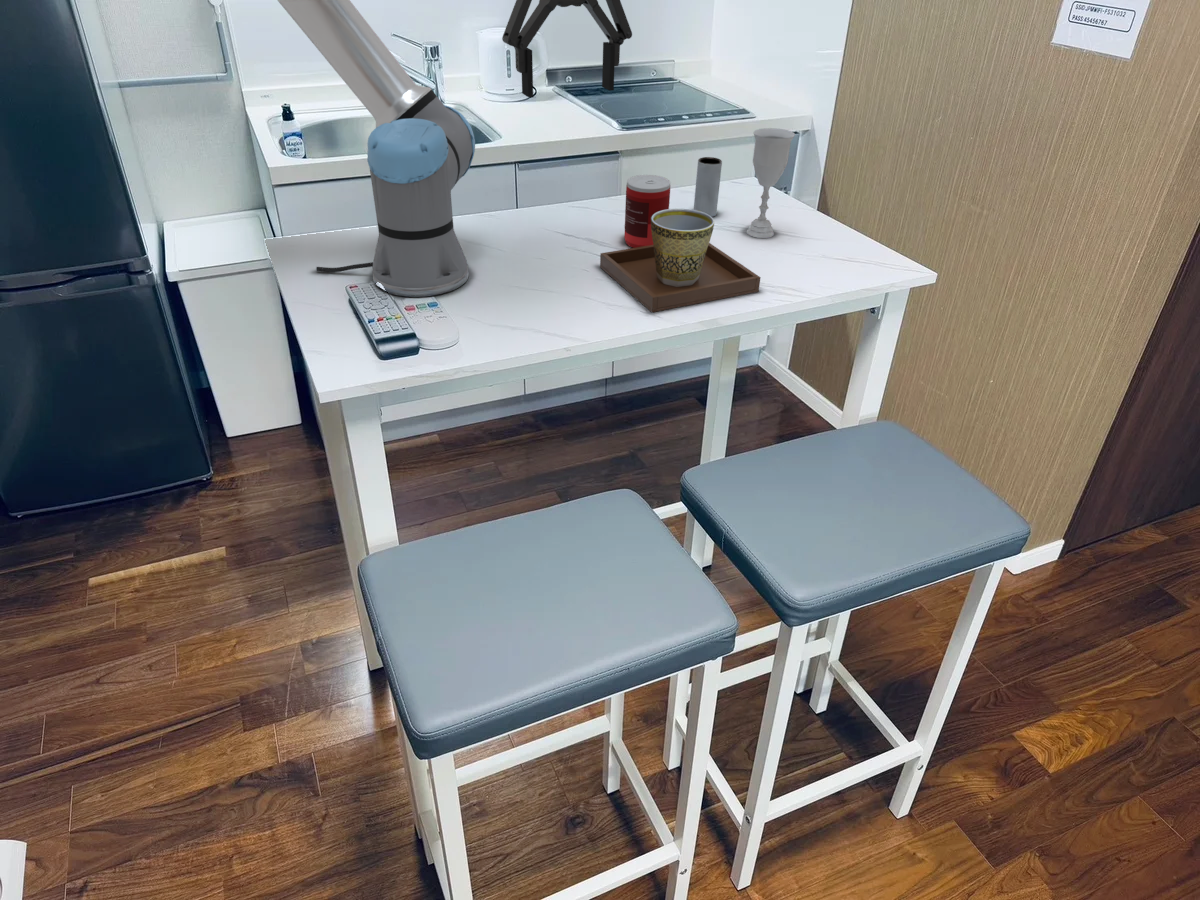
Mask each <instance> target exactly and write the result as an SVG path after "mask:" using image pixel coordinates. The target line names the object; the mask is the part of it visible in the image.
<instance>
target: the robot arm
mask: <svg viewBox="0 0 1200 900" xmlns="http://www.w3.org/2000/svg"><path fill="white" fill-rule="evenodd" d="M532 1H533V0H515V2H514V6H513V8H512V10H511V13H510V16H509V19H508V22H507V24H506V26H505V29H504V32H503V34H502V37H501V40H502V42H503V43H505V44H506V45H508V46H510V47H513V48H514V51H515V52H514V55H515V70H516V72H518V73H519V74H521V94H522V95H524V96H526V98H534V77H533V76H534V71H533V69H534V68H533V67H534V66H533V65H534V64H533V50H532V48H531V49H530V48H529V46H530V45H531V43H532V41H533V39H534V38H535V36H536V35H537V33H538V32H539V31H540V30H541V27H542V26H543V24H544V23H545V22H546V20H547V19H548V17H549V16H550V14H551V13H552V12H553V11H554V10H555V9H556V8H557V6H558V7H559V8H567V7H570V6H574V7H582V5H583V6H584V7H585V9H586V10H587V11H588V13H589V14H590V15H591V17H592V18H593V20H594V21H595V23H596V24H597V26H598V27H599V28H600V30H601V32H602V33H603V34H604V36H605V37H606V39H607V40H608V41H603V42H602V70H601V71H602V72H601V73H602V74H601V75H602V76H601V87H602V88H604V89H606V90H607V91H608V92H609V91H610V92H611V91H615V67H618V66H619V64H620V59H621V58H620V57H621V56H620V55H621V54H620V52H621V46H622V45H623V44H624V41H625V40H629V39H631V38H632V37H633V32H632V28H631V26H630V23H629V21H628V18H627V15H626V13H625V10H624V7H623V4H622V2H621V0H605V1H606V5H607V7H608V10H609V13H610V15H611V18H612V20H613V23H614V25H613V23H612V21H611V20H610V19H609V17H608V15H607V14H606V12H604V9H603V8H602V7H601V6H600V4H599V1H598V0H538V4H537V5H536V7H535V8H534V10H533V12H532V13H531V15H530V16H529V17H528V19H527V21H526V22H525V24H524V21H525V19H526V17H527V15H528V12H529V9H530V7H531V4H532ZM277 2H278V3H279V4H280V5H281V6H282V8H283V9H284V10H285V11H286V13H287V14H288V15H289V16H290V17H291V19H292V20H293V21H294V22H295V24H296V25H297V27H299V28H300V29H301V31H302V32H303V33H304V34H305V36H306V37H307V38H308V40H309V41H310V42H311V43H312V44H313V46H314V47H315V49H317V50H318V52H319V53H320V54H321V55H322V57H323V58H324V59H325V60H326V61H327V63H328V64H329V65H330V66H331V67H332V68H333V70H334V71H335V72H336V73H337V74H338V76H339V78H340V79H342V81H343V83H345V84H346V86H347V87H348V88H349V89H350V90H351V92H352V93H353V94H354V95H355V96H356V98H357V99H358V101H360V103H361V104H362V105H363V106H364V108H365V109H366V110H367V111H368V112H369V113H370V115H371V116H372V117H373V119H374V121H375V127H374V129H373V130H372V131H371V132H370V133H369V136H368V138H367V143H366V144H367V153H366V155H367V164H368V167H369V168H368V169H369V172H370V180H371V187H372V195H373V202H374V209H375V216H376V224H377V230H378V236H377V242H376V247H375V250H374V251H375V252H374V257H373V261H371V262H364V263H363V262H362V263H356V264H350V265H349V264H348V265H345V266H338V267H325V266H316V267H315V270H316V272H323V273H339V272H345V271H351V270H356V269H364V268H372V270H371V273H372V280H373V284H374V283H377V282H379V283H381V284H382V285H383V286H384V288H385V290H386V291H387V292H388V293H387V292H386V293H387V294H391V295H396V296H399V297H408V298H409V297H411V298H412V297H413V298H414V297H415V298H418V297H419V298H420V297H422V298H423V297H431V296H438V295H442V294H446V293H449V292H451V291H454V290H456V289H458V288H460V287H461V286H463V285H464V284H465V283H466V282H467V281H468V279H469V264H468V261H467V258H466V256H465V254H464V251H463V248H462V247H461V244H460V242H459V238H458V237H457V234H456V231H455V228H454V217H453V205H452V190H453V189H454V188H455V186H456V184H457V183H458V182H459V181H460V179H462V177H464V176H465V175H466V174H467V173H468V170H469V169H470V168H471V165H472V162H473V159H474V157H475V151H476V139H475V138H476V137H475V134H474V131H473V128H472V126H471V124H470V122H469V121H468V120H467V118H466V117H465V116H464V115H463V114H462V113H461V112H460V111H459V110H457V109H456V108H454V107H452V106H448V105H445V104H444V103H443V102H442V101H441V99H440V98H439V97H438V95H437V94H436V92H434V90H433V89H432V88H431V87H429V86H422V85H418V84H416V83H415V82H414V80H413V79H412V77H411V76H410V75H409V74H408V73H407V72H406V70H405V68H404V67H403V66H402V65H401V64H400V62H399V61H398V60H397V58H396V57H395V56H394V55H393V54H392V52H391V50H389V48H388V47H387V46H386V45H385V43H384V42H383V41H382V39H381V38H380V37H379V36H378V34H377V33H376V31H375V30H374V29H373V28H372V27H371V25H370V24H369V23H368V21H367V20H366V19H365V18H364V16H363V15H362V14H361V13H360V11H359V10H358V9H357V8H356V6H355V5H354V4H353V2H352V1H351V0H277ZM523 24H524V25H523Z"/></svg>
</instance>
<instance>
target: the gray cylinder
mask: <svg viewBox="0 0 1200 900" xmlns="http://www.w3.org/2000/svg"><path fill="white" fill-rule="evenodd" d="M722 167H723V160H722V159H720V158H718V157H713V156H703V157H700V158H698V160H697V168H696V177H695V178H696V179H695V189H694V201H693V210H699V211H701V212H703V213H706V214H708V215H710V216H711V217H712V218H713V217H715V216H717V212H718V205H719V193H720V184H721V175H722Z"/></svg>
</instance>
